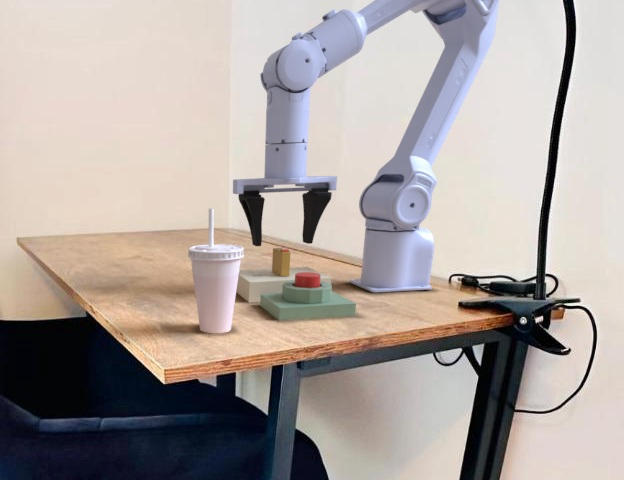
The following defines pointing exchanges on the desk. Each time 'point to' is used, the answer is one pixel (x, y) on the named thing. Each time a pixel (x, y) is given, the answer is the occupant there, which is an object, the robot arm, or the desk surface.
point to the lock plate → (267, 282)
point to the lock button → (307, 280)
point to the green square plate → (307, 303)
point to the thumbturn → (281, 261)
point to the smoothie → (215, 281)
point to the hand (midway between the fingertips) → (282, 244)
